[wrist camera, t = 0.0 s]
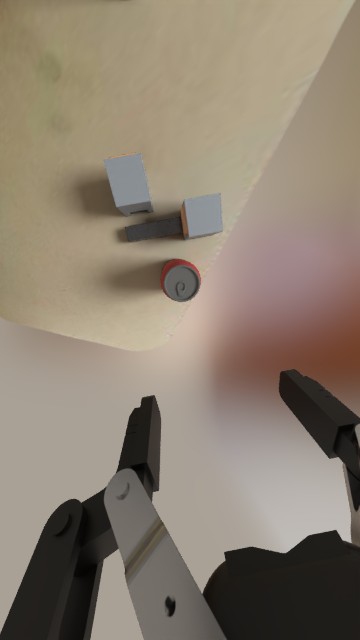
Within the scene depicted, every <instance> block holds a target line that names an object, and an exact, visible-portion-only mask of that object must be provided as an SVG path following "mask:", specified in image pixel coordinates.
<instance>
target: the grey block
mask: <svg viewBox="0 0 360 640" xmlns="http://www.w3.org/2000/svg"><path fill="white" fill-rule="evenodd" d="M104 164H105V167H106V171H107V175H108V178H109V182H110V186H111V190H112V193H113V197H114V201H115V205H116V207H117V208H118V209H119V210H120V211H121V212H122V213H123V214H124V215H125V216H126V217H127V216H131V213H132V212H137V211H143V210H148V212H154V211H153V206H152V201H151V196H150V191H149V186H148V181H147V176H146V172H145V168H144V164H143V160H142V156H141V153H130V154H125V155H119V156H113V157H108V159H104Z"/></svg>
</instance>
